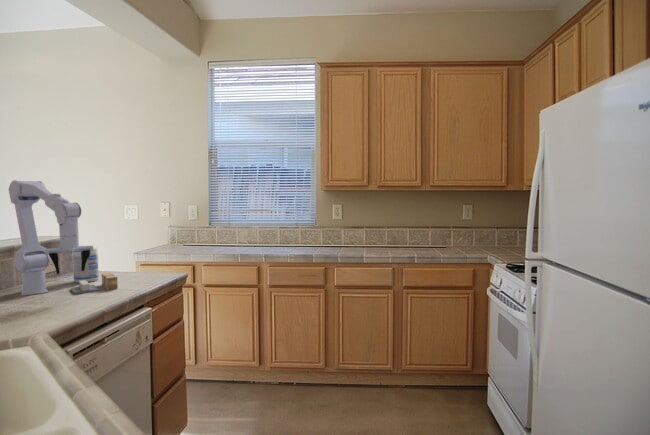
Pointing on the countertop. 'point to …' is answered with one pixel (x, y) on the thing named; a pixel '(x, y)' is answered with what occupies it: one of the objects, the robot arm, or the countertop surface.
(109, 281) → the oak stick
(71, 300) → the countertop surface
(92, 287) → the fulcrum stand
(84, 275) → the supplement tub
